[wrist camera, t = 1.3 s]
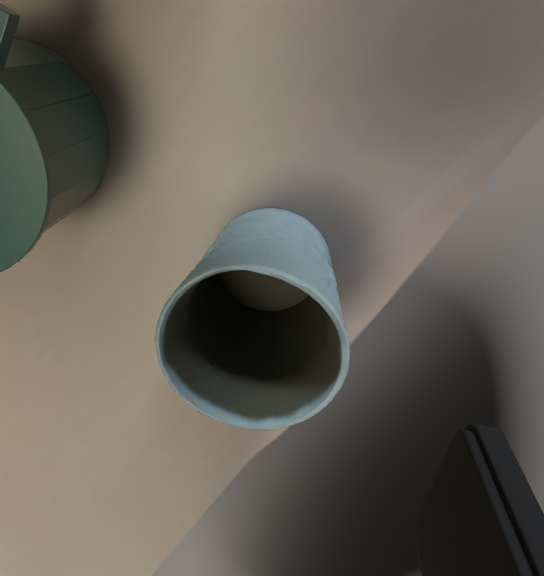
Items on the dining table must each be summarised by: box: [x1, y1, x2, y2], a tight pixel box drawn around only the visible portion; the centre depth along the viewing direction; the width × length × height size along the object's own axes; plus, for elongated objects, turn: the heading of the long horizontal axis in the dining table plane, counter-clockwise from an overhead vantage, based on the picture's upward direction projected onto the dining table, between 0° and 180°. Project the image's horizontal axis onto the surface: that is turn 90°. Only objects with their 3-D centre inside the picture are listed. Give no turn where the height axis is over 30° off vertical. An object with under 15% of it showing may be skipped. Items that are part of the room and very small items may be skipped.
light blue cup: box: [155, 208, 350, 430], centre depth 32 cm, size 10×10×12 cm
